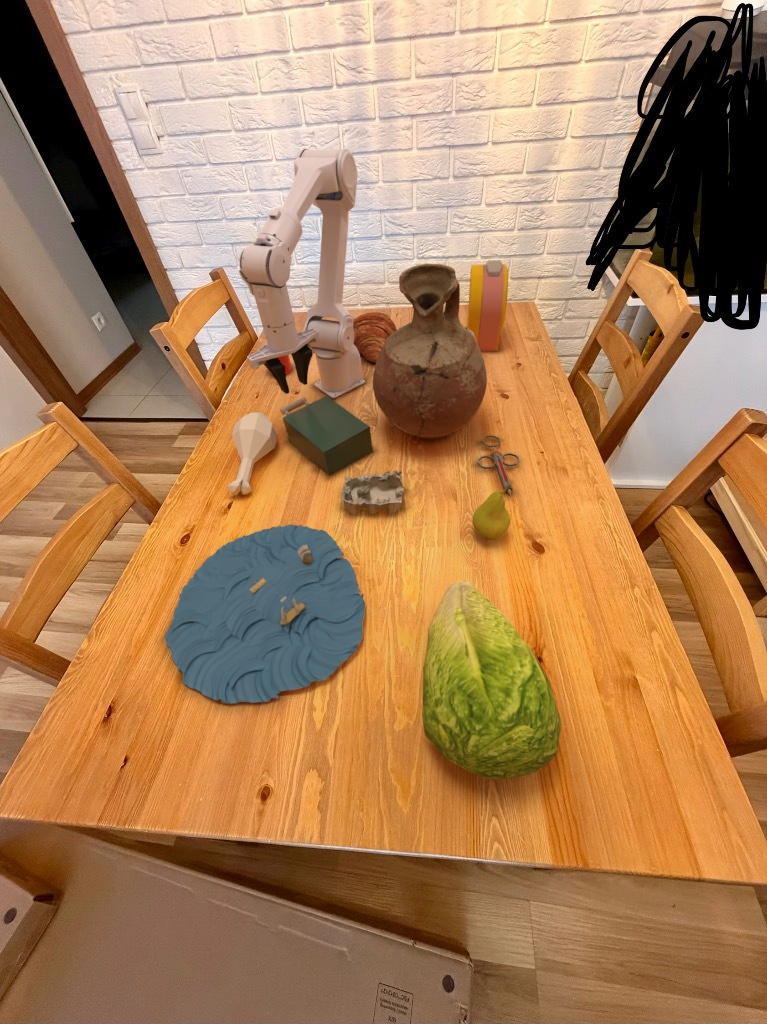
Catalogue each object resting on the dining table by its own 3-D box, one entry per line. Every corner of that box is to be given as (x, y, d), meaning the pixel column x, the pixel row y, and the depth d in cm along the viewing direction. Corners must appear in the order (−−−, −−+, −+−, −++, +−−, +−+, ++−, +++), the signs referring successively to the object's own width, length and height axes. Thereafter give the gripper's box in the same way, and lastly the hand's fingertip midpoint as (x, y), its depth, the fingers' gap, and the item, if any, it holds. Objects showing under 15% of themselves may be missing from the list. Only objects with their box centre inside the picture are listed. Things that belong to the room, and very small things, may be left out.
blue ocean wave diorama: (296, 758, 56) (285, 748, 52) (131, 650, 67) (111, 634, 63) (407, 571, 71) (406, 552, 67) (258, 508, 82) (249, 489, 78)
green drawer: (276, 424, 98) (271, 407, 95) (312, 406, 102) (309, 389, 98) (324, 465, 88) (320, 448, 85) (362, 443, 92) (360, 426, 88)
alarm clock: (500, 354, 112) (510, 275, 98) (466, 354, 113) (471, 276, 100) (498, 325, 122) (507, 250, 108) (467, 325, 123) (471, 251, 109)
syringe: (490, 507, 79) (491, 500, 78) (469, 441, 91) (470, 434, 90) (534, 502, 79) (536, 496, 78) (508, 437, 91) (509, 430, 90)
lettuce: (521, 603, 67) (511, 538, 59) (578, 786, 49) (576, 729, 40) (422, 622, 70) (398, 562, 61) (440, 803, 51) (410, 753, 43)
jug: (360, 446, 92) (339, 294, 70) (398, 388, 105) (391, 244, 83) (466, 469, 86) (479, 309, 64) (493, 404, 99) (511, 252, 77)
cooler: (289, 441, 95) (282, 417, 91) (330, 419, 99) (326, 395, 95) (329, 476, 87) (324, 452, 83) (372, 451, 91) (369, 426, 87)
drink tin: (284, 362, 117) (278, 337, 112) (296, 370, 114) (290, 345, 109) (265, 370, 115) (258, 345, 110) (276, 379, 112) (269, 354, 107)
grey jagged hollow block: (405, 486, 84) (404, 469, 81) (401, 516, 79) (401, 500, 76) (347, 484, 85) (345, 468, 82) (341, 514, 80) (337, 498, 77)
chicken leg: (215, 500, 86) (215, 476, 79) (237, 426, 95) (239, 400, 88) (260, 509, 88) (264, 487, 81) (277, 436, 97) (282, 411, 90)
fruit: (467, 523, 77) (472, 470, 68) (502, 519, 77) (511, 465, 68) (475, 550, 73) (481, 498, 64) (511, 545, 73) (523, 493, 64)
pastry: (416, 341, 119) (416, 310, 113) (377, 367, 112) (374, 336, 106) (369, 324, 128) (366, 295, 122) (329, 348, 120) (324, 318, 114)
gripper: (300, 300, 87) (313, 365, 97) (231, 327, 81) (252, 393, 91) (320, 311, 83) (332, 378, 93) (250, 341, 77) (270, 408, 87)
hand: (294, 387), depth 92 cm, fingers open, 4 cm apart
